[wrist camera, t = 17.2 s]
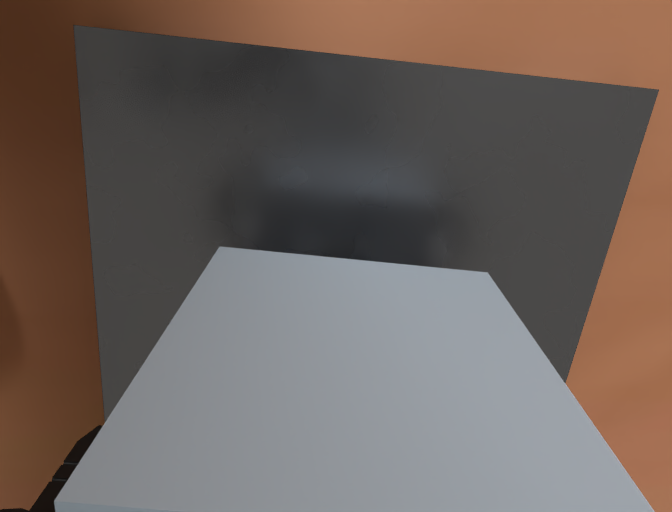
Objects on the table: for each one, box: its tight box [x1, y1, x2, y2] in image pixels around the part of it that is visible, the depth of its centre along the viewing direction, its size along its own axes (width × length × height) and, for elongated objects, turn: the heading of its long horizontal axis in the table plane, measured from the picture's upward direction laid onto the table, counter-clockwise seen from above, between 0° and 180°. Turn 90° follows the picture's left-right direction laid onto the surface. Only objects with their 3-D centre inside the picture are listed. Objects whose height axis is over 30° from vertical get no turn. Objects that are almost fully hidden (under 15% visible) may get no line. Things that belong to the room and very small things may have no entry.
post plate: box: [74, 25, 659, 422], centre depth 15 cm, size 17×17×6 cm
